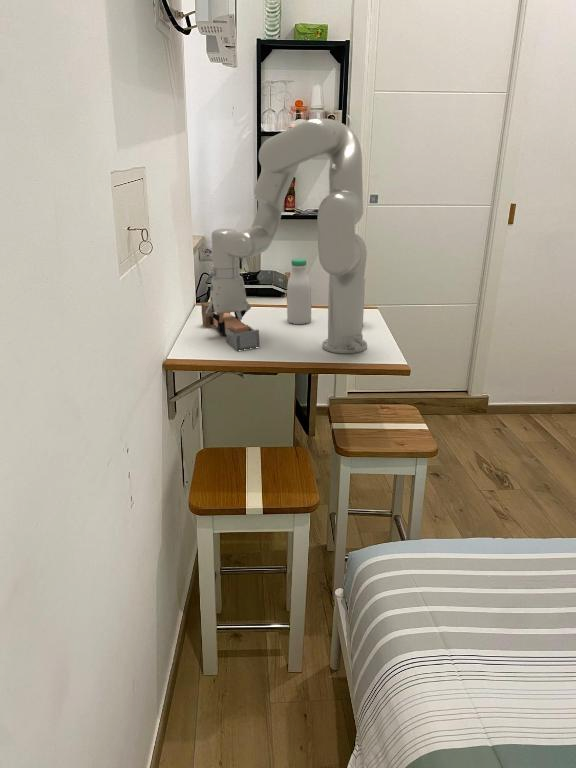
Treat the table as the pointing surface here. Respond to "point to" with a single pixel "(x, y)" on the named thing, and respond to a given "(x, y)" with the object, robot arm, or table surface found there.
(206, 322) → the socket
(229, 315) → the bar
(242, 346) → the channel
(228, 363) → the table surface
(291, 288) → the milk bottle
